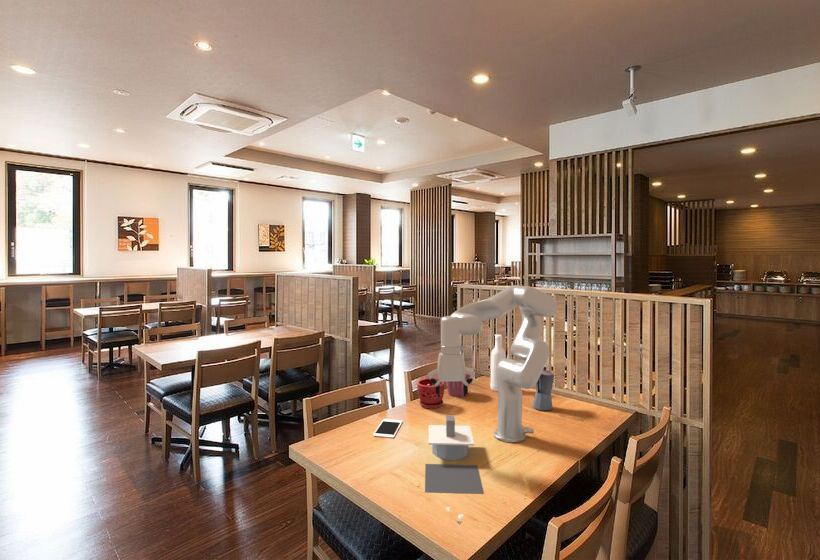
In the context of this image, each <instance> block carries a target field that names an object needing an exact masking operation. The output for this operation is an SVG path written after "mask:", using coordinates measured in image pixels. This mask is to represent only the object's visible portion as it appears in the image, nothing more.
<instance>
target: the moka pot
mask: <svg viewBox="0 0 820 560" xmlns="http://www.w3.org/2000/svg"><path fill="white" fill-rule="evenodd" d="M554 380H555V372H553V371H551V370H547V366H545V367H544V369H543V371H542V373H541V375H540V377H539V379H538V381H537V383H536V384H535V395H534V400H533V405H532V406H533V408H534V409H536V410H540V411H548V412H549V411H552V410H553V398H552V397H553V396H552V390H553V385H554Z"/></svg>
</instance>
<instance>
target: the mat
mask: <svg viewBox="0 0 820 560" xmlns="http://www.w3.org/2000/svg"><path fill="white" fill-rule="evenodd" d="M424 466H425V468H424V469H425V471H424V472H425V473H424V481H425V482H424V493H428V494H429V493H431V494H433V493H434V494H436V493H437V494H440V493H441V494H464V495H465V494H468V495H469V494H470V495H473V494H474V495H484V488H483V484H482V479H481V476H480V470H479V466H478V464H450V463H449V464H445V463H443V464H442V463H425V464H424Z"/></svg>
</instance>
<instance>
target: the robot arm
mask: <svg viewBox="0 0 820 560" xmlns="http://www.w3.org/2000/svg"><path fill="white" fill-rule="evenodd" d="M516 308H519V311H520V314H521V315H520V316H521V324H520V326H519V330H518V331H517V333H516V335H515V337H514V339H513V341H512V343H511V347H510V354H511V355H512V356H513V357H514V358H516V359H519V360H522V361H525V362H522V361H519V360H516V359H512V358H505V359H503V360H501V361H500V362H499V363H498V365H497V367H496V375H497V381H498V391H497V392H498V395H497V399H498V400H497V428H495V430H493V436H494V438H496V439H497V440H500V441H502V442H505V443H506V442H507V443H520V442H523V441H524V440H525V439H526V434H531V435H532V434H534V433H535V432H534V431H535V430H534V428H530V427H529V426H523V423H522V422H523V391H522V390H524V389H525V390H530V389H533V388H534V387H536V383H537V381H538V379H539V377H540V375H541V373H542V371H543V369H544V367H546V364H547V362H548V360H549V356H550V348H549V345H548V344H547V342H546V341H544V340H542V339H540V336H541V334H542V331H543V329H542V328H543V327H542V321H541V319H540V317H544V318H550V317H552V316H554V315H555V314H556V313H557V311H558V309H559V308H558V302H557V299H556V298H554V297H553V296H552V295H550V294H548V293H546V292H544V291H542V290H540V289H538V288H536V287H532V286H531V285H529V286H528V285H517V284H514V285H509V286H508V287H506V288H504V289H503V290H501V291H499V292H498V293H496V294H494V295H492V296H491V297H488V298H485V299H482V300H478V301H476V302H472V303H469V304H466V305H463V306H462V307H459V308H458V309H457V310H455V311H454V312H453V313H451V314H450V315H446V316H442V317H441V318H440V352H439V353H438V356H437V368H436V369H434V370H431V371H429V372H428V373H427V376H428V378H430V380H431V382H432V383H433V384H432V385H433V386H436V394H438V397H440V386H439V384H440V383H441V381H444V382H446V381H462V382H463V383H464V384H463V394H464V396H463V397H464V398H466V397H467V395H468V394H469V388H468V386H469V385H470V384H471V383H472V382H473V381H474V379H475V377H476V373H475V372H474V371H472V370H470V369H469V368H466V363H465V362H466V360H465V355H464V351H466V349H467V348H466V346H463V345H462V336H476V335H478V334H479V333H480V332H482V329H483V327H484V325H483V320H493V319H499V318H501V317H503V316H504V315H506V314H507V313H509V312H511V311H513V310H514V309H516ZM468 369H469V370H468ZM466 373H467V374H469V375H471V376H470V378H469V379H468V380H466V379H465V375H466ZM436 374H437V378H436V379H437V380H435V379H434V376H435V375H436Z"/></svg>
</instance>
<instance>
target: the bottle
mask: <svg viewBox="0 0 820 560" xmlns="http://www.w3.org/2000/svg"><path fill="white" fill-rule="evenodd" d="M494 339H495V340H494V342H495V343H494V348H493V349H492V350H491V353H490V386H489V387H490V390H491V391H493V392H498V381H497V375H496V367H497V365H498V363H499V362H500V361H501V360H503V359H506V358H507V357H506V351H505V349H504V348H503V335H502V334H495V337H494Z"/></svg>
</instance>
